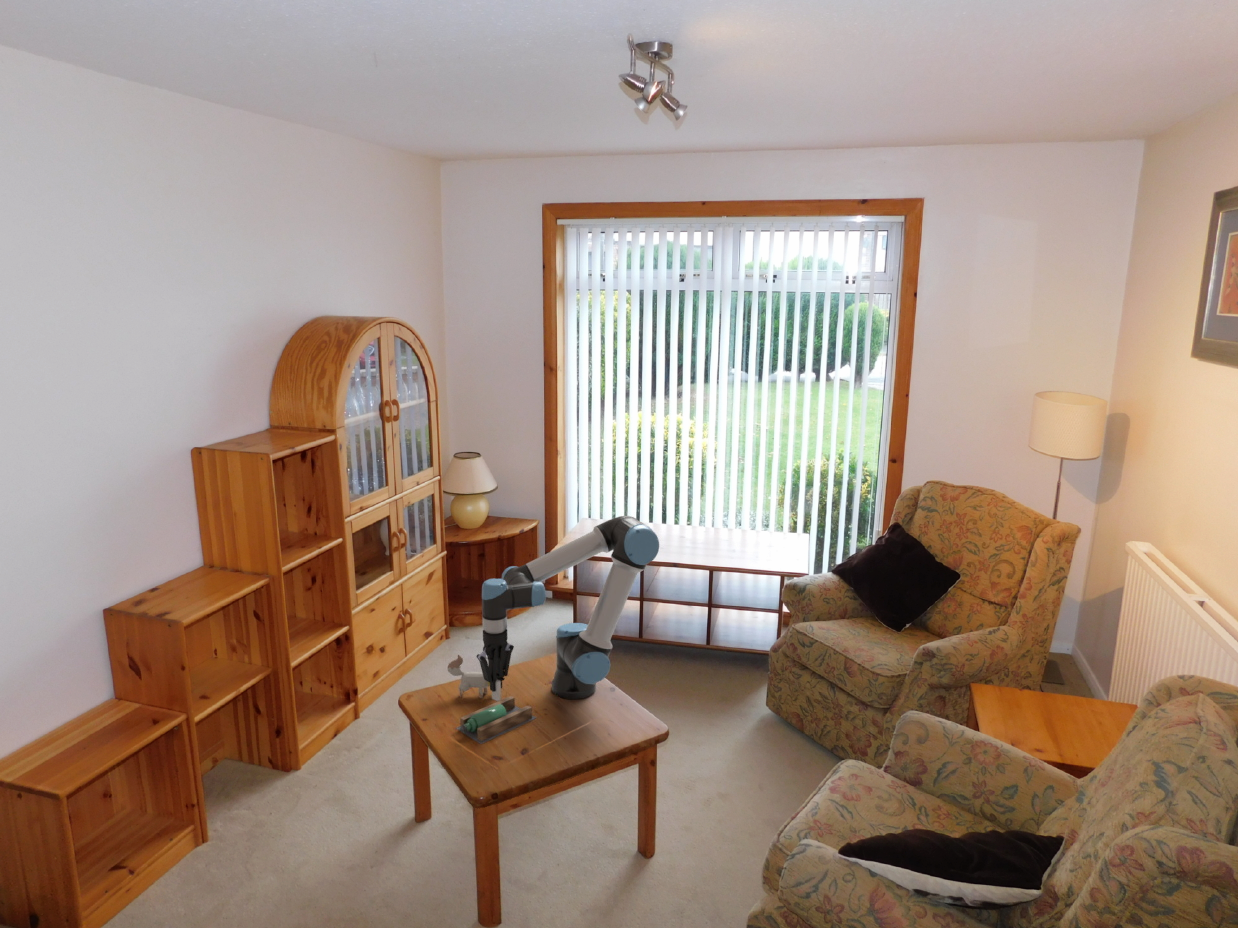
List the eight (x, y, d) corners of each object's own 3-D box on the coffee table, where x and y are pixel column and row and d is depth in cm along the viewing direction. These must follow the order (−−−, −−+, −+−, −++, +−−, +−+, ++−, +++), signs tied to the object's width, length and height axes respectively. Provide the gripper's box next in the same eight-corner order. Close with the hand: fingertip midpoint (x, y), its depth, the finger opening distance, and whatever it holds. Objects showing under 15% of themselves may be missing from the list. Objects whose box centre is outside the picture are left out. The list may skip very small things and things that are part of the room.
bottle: (496, 701, 265) (457, 718, 255) (506, 706, 261) (467, 722, 251) (497, 717, 265) (458, 734, 255) (507, 722, 262) (469, 739, 251)
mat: (511, 704, 274) (511, 703, 274) (536, 718, 265) (536, 717, 265) (455, 729, 259) (455, 727, 259) (480, 745, 250) (480, 744, 250)
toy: (502, 703, 275) (501, 661, 271) (445, 702, 275) (443, 660, 272) (506, 690, 283) (505, 649, 280) (451, 689, 284) (449, 648, 280)
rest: (511, 705, 272) (511, 695, 272) (532, 717, 265) (531, 707, 264) (460, 728, 258) (460, 717, 258) (481, 741, 251) (480, 730, 250)
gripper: (504, 619, 262) (505, 688, 267) (470, 631, 253) (472, 701, 258) (519, 626, 257) (520, 696, 262) (485, 638, 248) (486, 710, 253)
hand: (496, 698), depth 260 cm, fingers closed
